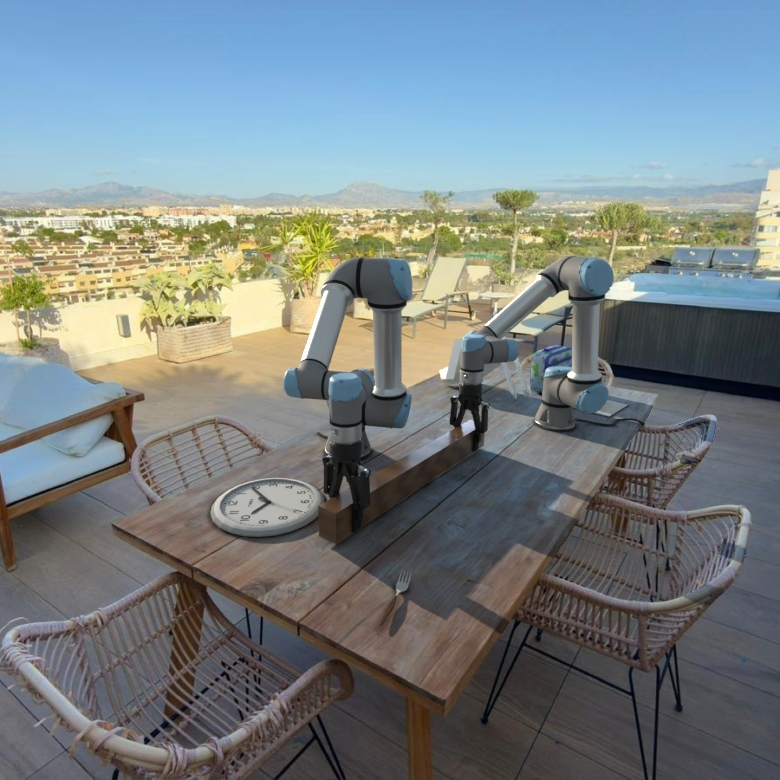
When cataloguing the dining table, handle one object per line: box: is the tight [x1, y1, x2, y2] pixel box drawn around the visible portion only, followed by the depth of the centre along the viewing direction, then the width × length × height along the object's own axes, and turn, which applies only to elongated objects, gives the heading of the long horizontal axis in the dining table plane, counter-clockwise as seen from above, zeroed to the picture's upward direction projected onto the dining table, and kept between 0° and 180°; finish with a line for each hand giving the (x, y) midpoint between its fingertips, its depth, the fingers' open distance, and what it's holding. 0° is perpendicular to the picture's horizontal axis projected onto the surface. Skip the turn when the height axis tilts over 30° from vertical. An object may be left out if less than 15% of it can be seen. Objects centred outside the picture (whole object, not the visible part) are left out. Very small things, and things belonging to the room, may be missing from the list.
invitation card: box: [594, 399, 629, 418], centre depth 226 cm, size 21×1×15 cm
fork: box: [379, 570, 413, 627], centre depth 106 cm, size 3×16×2 cm, turn 160°
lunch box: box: [529, 345, 572, 394], centre depth 245 cm, size 26×11×21 cm, turn 134°
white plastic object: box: [438, 310, 531, 400], centre depth 245 cm, size 37×45×31 cm
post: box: [317, 419, 486, 545], centre depth 152 cm, size 75×6×8 cm, turn 143°
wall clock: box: [210, 477, 325, 538], centre depth 142 cm, size 30×2×30 cm
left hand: (346, 525), depth 130 cm, fingers closed on post, 6 cm apart
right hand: (466, 447), depth 177 cm, fingers closed on post, 6 cm apart
